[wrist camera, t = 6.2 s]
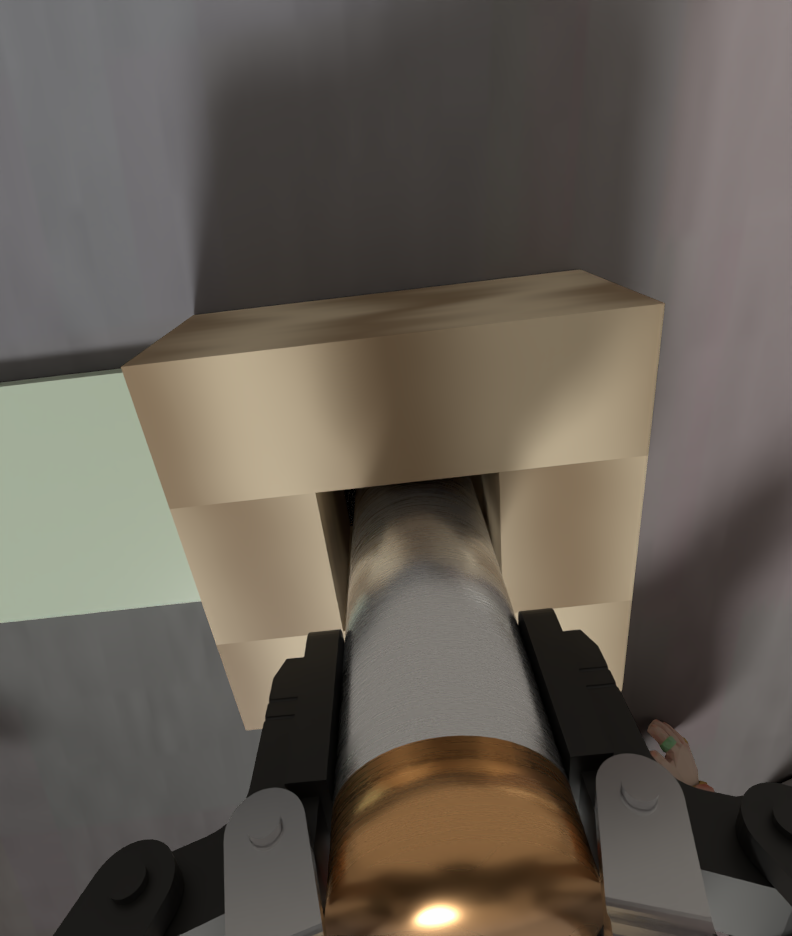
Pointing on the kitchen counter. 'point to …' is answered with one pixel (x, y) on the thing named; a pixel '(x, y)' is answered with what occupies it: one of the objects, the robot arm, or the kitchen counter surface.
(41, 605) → the pad
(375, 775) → the copper capped cylinder
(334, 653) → the robot arm
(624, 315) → the bore block
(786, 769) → the kitchen counter surface
